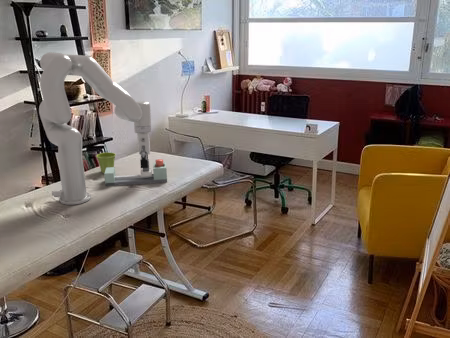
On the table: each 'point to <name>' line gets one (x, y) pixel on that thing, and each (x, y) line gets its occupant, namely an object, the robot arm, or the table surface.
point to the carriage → (146, 171)
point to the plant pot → (106, 160)
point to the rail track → (135, 177)
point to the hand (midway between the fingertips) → (144, 164)
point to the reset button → (159, 163)
